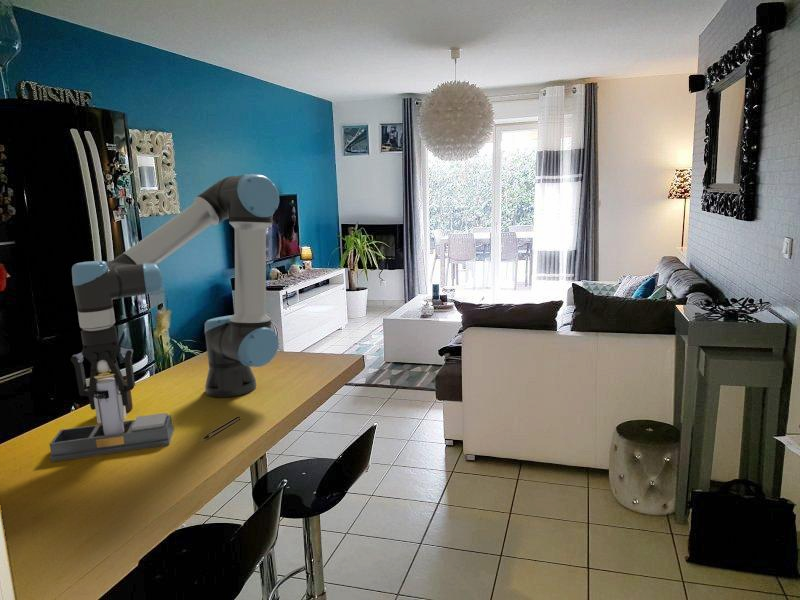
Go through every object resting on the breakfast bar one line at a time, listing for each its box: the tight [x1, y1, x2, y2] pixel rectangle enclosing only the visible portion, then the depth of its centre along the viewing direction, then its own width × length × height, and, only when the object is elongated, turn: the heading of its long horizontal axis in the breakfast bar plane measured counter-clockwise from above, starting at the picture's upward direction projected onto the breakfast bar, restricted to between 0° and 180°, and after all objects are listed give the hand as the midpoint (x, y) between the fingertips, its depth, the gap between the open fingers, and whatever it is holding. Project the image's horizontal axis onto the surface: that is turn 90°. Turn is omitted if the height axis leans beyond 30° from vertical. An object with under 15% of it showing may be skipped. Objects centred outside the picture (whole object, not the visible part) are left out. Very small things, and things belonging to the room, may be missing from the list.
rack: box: [49, 412, 175, 463], centre depth 143 cm, size 26×10×5 cm, turn 105°
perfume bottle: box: [92, 360, 124, 436], centre depth 141 cm, size 6×6×20 cm
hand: (112, 419), depth 142 cm, fingers closed on perfume bottle, 4 cm apart
